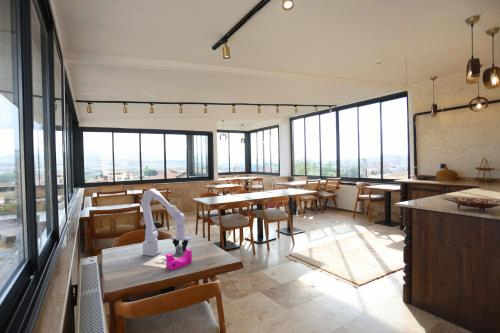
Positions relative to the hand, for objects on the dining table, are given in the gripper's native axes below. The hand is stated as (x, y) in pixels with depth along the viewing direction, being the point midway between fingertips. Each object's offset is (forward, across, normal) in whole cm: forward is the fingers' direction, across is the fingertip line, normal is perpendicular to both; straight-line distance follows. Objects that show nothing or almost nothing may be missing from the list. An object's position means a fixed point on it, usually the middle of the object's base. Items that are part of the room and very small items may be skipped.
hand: (180, 250), depth 188 cm
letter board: (+1, -2, -17) cm, 17 cm away
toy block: (+2, +12, -18) cm, 22 cm away
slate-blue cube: (+1, 0, 0) cm, 1 cm away
